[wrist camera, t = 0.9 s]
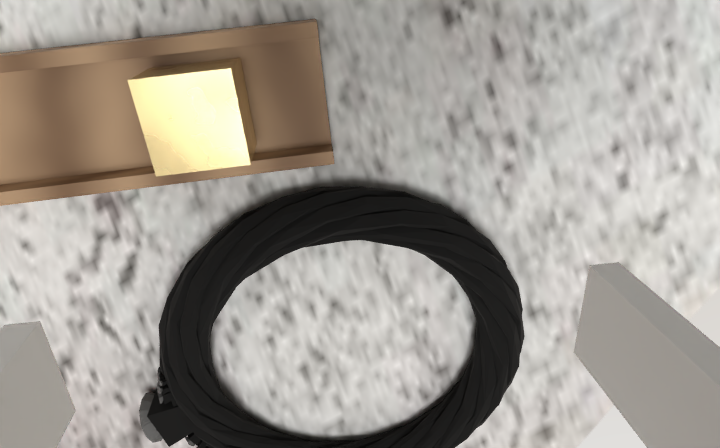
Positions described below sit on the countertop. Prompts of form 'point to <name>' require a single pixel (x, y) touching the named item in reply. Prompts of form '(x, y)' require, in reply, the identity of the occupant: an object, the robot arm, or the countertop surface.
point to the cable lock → (316, 227)
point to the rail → (120, 119)
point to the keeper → (195, 116)
